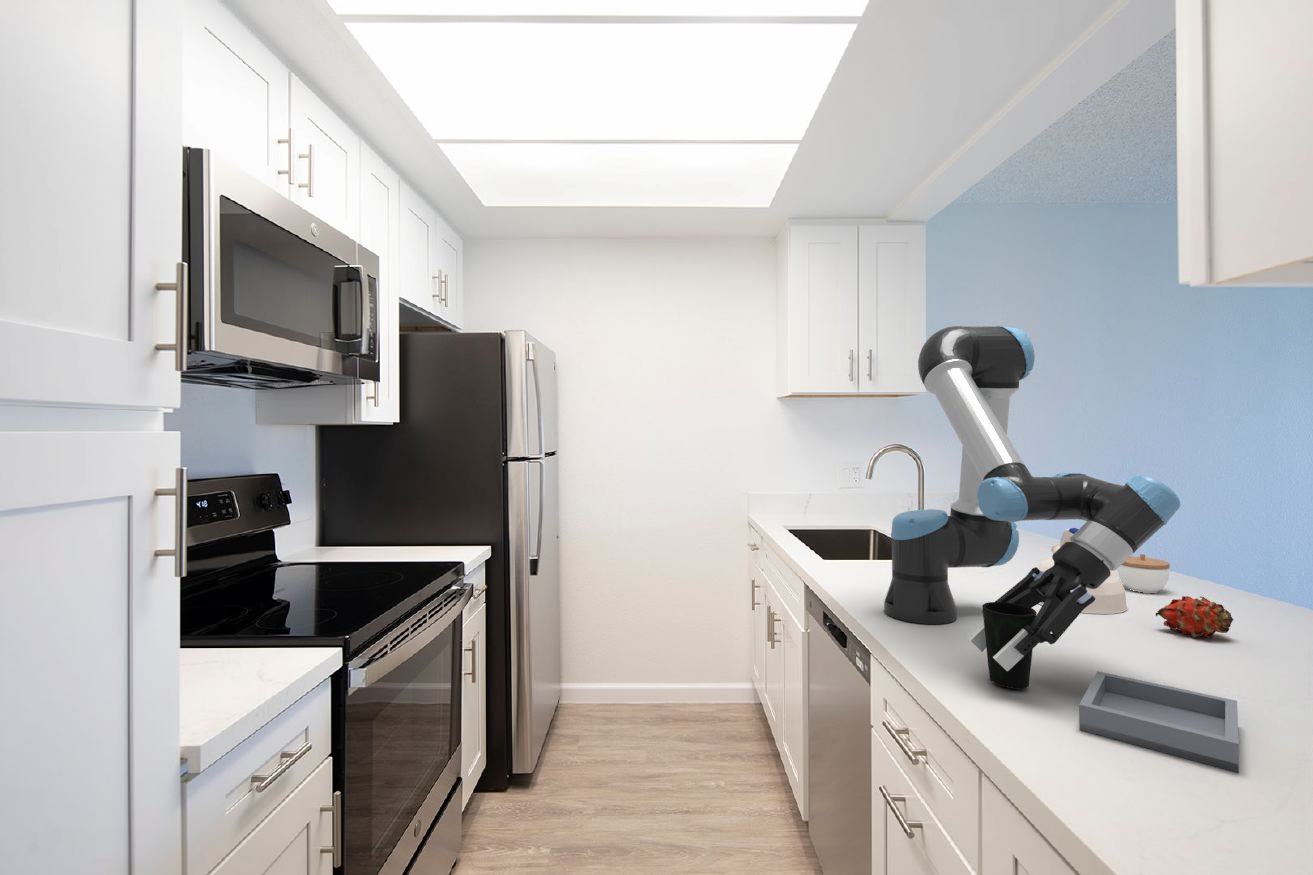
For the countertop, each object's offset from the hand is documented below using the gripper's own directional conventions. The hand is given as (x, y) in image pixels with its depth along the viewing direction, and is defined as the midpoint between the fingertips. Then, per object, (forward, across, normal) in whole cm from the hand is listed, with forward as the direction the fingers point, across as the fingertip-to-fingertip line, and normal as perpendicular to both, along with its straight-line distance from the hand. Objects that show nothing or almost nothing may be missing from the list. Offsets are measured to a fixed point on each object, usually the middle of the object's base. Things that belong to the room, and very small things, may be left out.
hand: (987, 654), depth 100 cm
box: (-8, -14, -15) cm, 22 cm away
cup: (+1, 0, -6) cm, 6 cm away
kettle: (-27, +50, -36) cm, 67 cm away
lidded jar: (-44, +62, -52) cm, 92 cm away
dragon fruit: (-33, +26, -41) cm, 59 cm away
